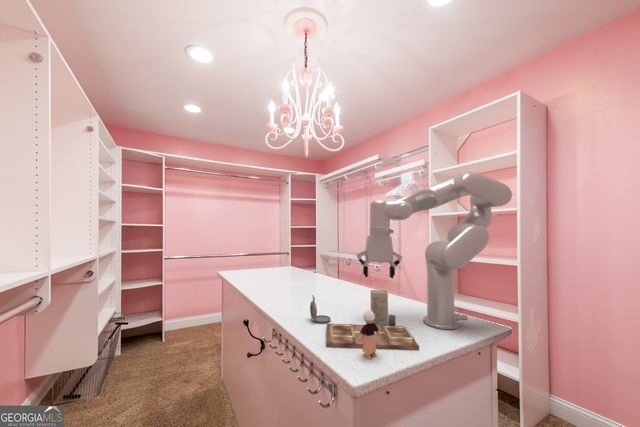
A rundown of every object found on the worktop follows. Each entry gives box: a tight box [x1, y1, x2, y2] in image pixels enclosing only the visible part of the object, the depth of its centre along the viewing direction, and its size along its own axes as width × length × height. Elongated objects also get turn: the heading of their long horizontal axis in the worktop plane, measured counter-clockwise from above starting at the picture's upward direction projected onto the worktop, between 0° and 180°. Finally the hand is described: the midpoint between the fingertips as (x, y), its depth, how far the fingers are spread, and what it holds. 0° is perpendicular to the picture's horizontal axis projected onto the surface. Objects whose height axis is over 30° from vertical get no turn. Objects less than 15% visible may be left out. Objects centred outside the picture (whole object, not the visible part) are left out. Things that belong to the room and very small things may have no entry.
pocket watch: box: [309, 294, 331, 324], centre depth 102 cm, size 8×8×10 cm
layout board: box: [325, 314, 420, 351], centre depth 88 cm, size 28×16×6 cm, turn 88°
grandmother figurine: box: [359, 309, 380, 360], centre depth 75 cm, size 8×4×13 cm, turn 133°
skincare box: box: [370, 289, 389, 325], centre depth 101 cm, size 6×4×12 cm
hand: (378, 277), depth 101 cm, fingers open, 9 cm apart
